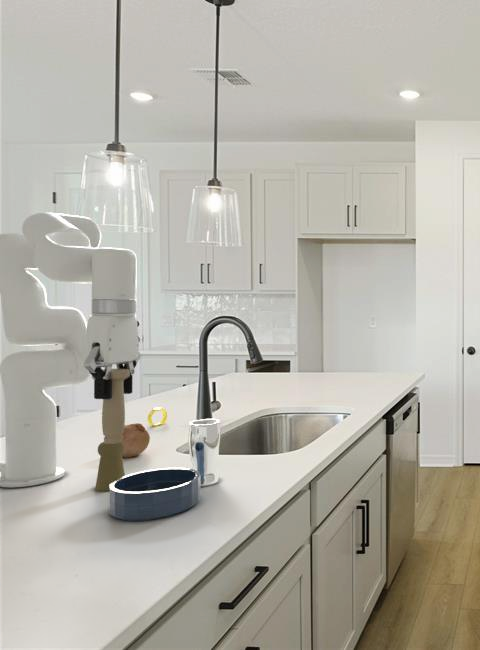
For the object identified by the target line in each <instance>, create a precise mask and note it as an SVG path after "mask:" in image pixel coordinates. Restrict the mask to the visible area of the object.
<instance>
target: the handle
mask: <svg viewBox="0 0 480 650" xmlns="http://www.w3.org/2000/svg"><path fill="white" fill-rule="evenodd" d="M104 369H105V368H104ZM104 369H103V368H102V370H103V371H104ZM129 376H130V370H128V369H117V368H112V369H111V373H110V377H109V379H112V398H111V399H102V410H101V415H102V416H101V429H102V435H103V442H104V443H105V444H115V443H120V442H122V438H123V435H122V434H123V432H124V426H125V425H126V424H125V423H126V408H125V407H126V406H125V394H124V387H123V384H124V380H125V379H126V378H128V377H129Z"/></svg>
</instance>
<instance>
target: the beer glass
mask: <svg viewBox="0 0 480 650" xmlns="http://www.w3.org/2000/svg"><path fill="white" fill-rule="evenodd" d="M221 435H222V434H221V420H219V419H216V418H205V419H196V420H193V421H190V422H189V428H188V441H187V442H188V451H189V456H190V462H191V469H193V470H196V471H198V472H199V473H200V475H201V479H200V487H209V486H212V485H215V484H216V483H218V482H219V475H218V467H217V466H218V458H219V454H220V449H221V438H222V437H221Z"/></svg>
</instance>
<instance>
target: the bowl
mask: <svg viewBox="0 0 480 650" xmlns="http://www.w3.org/2000/svg"><path fill="white" fill-rule="evenodd" d="M200 479H201V475H200V473H199V472H198V471H196V470H193V469H192V468H185V467H165V468H164V467H163V468H155V469H148V470H143V471H139V472H134V473H130V474H127V475H125V476H124V477H121V478H119V479H117V480H115V481H113V482H112V483H111V484H110V485H109V491H108V492H109V493H108V495H109V497H108V498H109V499H108V506H109V507H108V510H109V511H108V512H109V515H110V516H112V517H113V518H116V519H118V520H121V521H130V522H131V521H132V522H141V521H151V520H157V519H158V520H159V519H163V518H168V517H172V516H176V515H178V514H181V513H184V512H186V511H188V510H189V509H192V507H194V506H195V505H197V504H198V503H199V501H200V500H201V486H200Z"/></svg>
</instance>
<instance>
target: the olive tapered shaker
mask: <svg viewBox="0 0 480 650" xmlns="http://www.w3.org/2000/svg"><path fill="white" fill-rule="evenodd" d="M123 451H124V443H123V442H120V443H115V444H105V443H104V441H102V442H99V444H98V446H97V453H98V455H99V456H100V458H99V463H98V470H97V476H96V481H95V482H96V483H95V491H99V492H109V485H110V484H111V483H112V482H113V481H115V480H117V479H119V478H121V477H124V476H126V474H125V473H126V472H125V467H124V461H123V457H122V452H123Z"/></svg>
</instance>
